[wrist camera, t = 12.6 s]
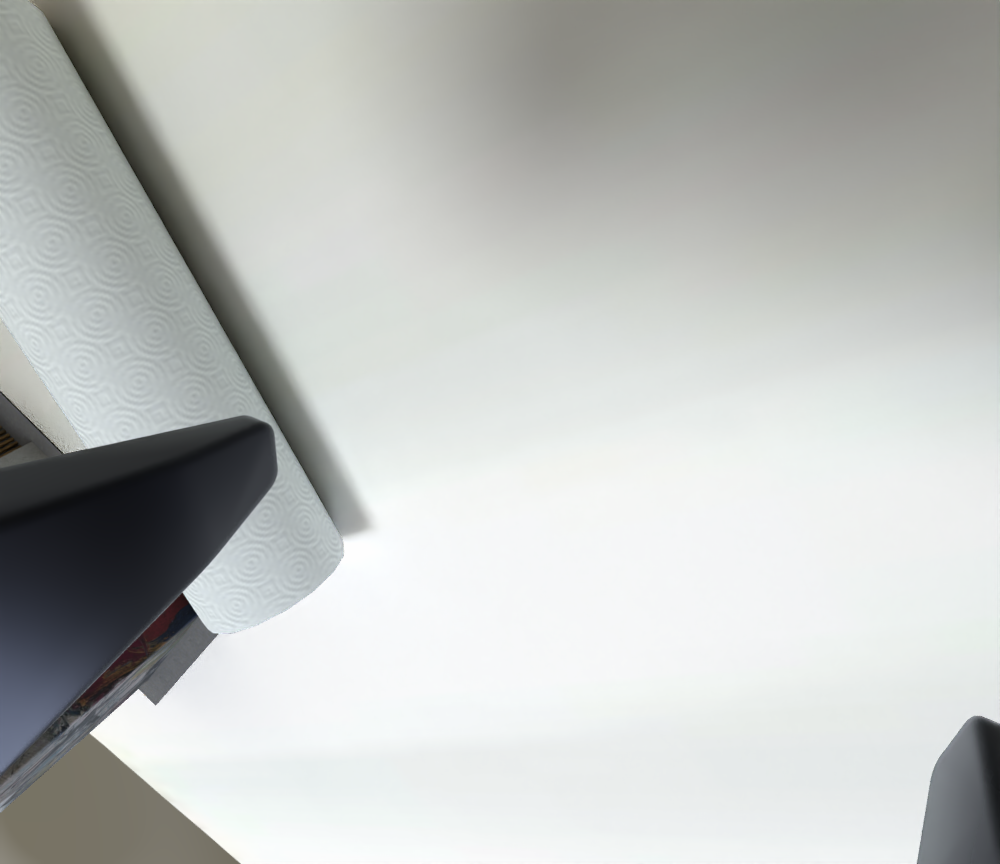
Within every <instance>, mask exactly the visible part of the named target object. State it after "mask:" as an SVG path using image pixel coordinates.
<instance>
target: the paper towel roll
mask: <svg viewBox="0 0 1000 864" xmlns="http://www.w3.org/2000/svg"><path fill="white" fill-rule="evenodd" d="M0 318H1V320H2V321H3V323H4V324H5V326H6V327H7V329H8V330H9V332H10V333H11V335H12V336H13V338H14V339H15V341H16V342H17V344H18V345H19V347H20V348H21V350H22V351H23V353H24V354H25V356H26V357H27V359H28V360H29V362H30V363H31V365H32V366H33V368H34V369H35V371H36V372H37V374H38V375H39V377H40V378H41V380H42V381H43V383H44V384H45V386H46V387H47V389H48V390H49V392H50V393H51V395H52V396H53V398H54V400H55V401H56V403H57V404H58V406H59V407H60V409H61V410H62V412H63V413H64V415H65V416H66V418H67V419H68V421H69V422H70V424H71V425H72V427H73V428H74V430H75V431H76V433H77V434H78V436H79V437H80V439H81V440H82V442H83V443H84V445H85V446H86V448H87V449H90V448H94V447H99V446H103V445H108V444H113V443H117V442H122V441H126V440H131V439H136V438H140V437H145V436H149V435H154V434H159V433H163V432H168V431H172V430H177V429H182V428H186V427H191V426H195V425H200V424H205V423H209V422H214V421H218V420H223V419H227V418H232V417H237V416H242V415H248V416H252V417H254V418H257V419H259V420H261V421H264V422H266V423H268V424H269V425H271V427H272V428H273V430H274V434H275V444H276V454H277V464H278V473H277V478H276V480H275V482H274V484H273V486H272V488H271V489H270V490H269V491H268V493H267V494H266V495H265V496H264V498H263V499H262V500H261V501H260V503H259V504H258V505H257V506H256V508H255V509H254V510H253V511H252V513H251V514H250V515H249V516H248V518H247V519H246V520H245V521H244V523H243V524H242V525H241V526H240V528H239V529H238V530H237V531H236V532H235V534H234V535H233V536H232V537H231V539H230V540H229V541H228V542H227V544H226V545H225V546H224V547H223V549H222V550H221V551H220V552H219V554H218V555H217V556H216V557H215V558H214V559H213V561H212V562H211V563H210V564H209V565H208V566H207V567H206V569H205V570H204V571H203V572H202V573H201V574H200V575H199V576H198V577H197V578H196V579H195V580H194V581H193V582H192V583H191V584H190V585H189V586H188V587H187V588H186V589H185V590H184V591H183V594H184V595H185V597H186V598H187V600H188V601H189V603H190V604H191V606H192V607H193V609H194V610H195V612H196V613H197V615H198V616H199V618H200V619H201V621H202V622H203V624H204V625H205V626H206V627H207V629H208V630H209V631H211V632H212V633H223V634H231V633H234V632H238V631H241V630H244V629H247V628H250V627H254V626H257V625H259V624H261V623H263V622H265V621H267V620H268V619H270V618H272V617H274V616H276V615H278V614H280V613H282V612H284V611H286V610H287V609H289V608H290V607H292V606H293V605H295V604H296V603H297V602H299V601H300V600H302V599H303V598H305V597H306V596H307V595H309V594H310V593H312V592H313V591H314V590H315V589H316V588H317V587H318V586H320V585H321V584H322V583H323V582H324V581H325V580H326V579H327V578H328V577H329V576H330V575H331V574H332V573H333V572H334V571H335V569H336V567H337V566H338V564H339V563H340V561H341V559H342V558H343V556H344V545H343V539H342V537H341V536H340V534H339V532H338V530H337V528H336V527H335V525H334V523H333V521H332V520H331V518H330V516H329V514H328V513H327V511H326V509H325V507H324V506H323V504H322V502H321V500H320V499H319V497H318V495H317V493H316V492H315V490H314V488H313V486H312V485H311V483H310V481H309V479H308V477H307V476H306V474H305V472H304V470H303V469H302V467H301V465H300V463H299V462H298V460H297V458H296V456H295V455H294V453H293V451H292V449H291V448H290V446H289V444H288V442H287V441H286V439H285V437H284V435H283V434H282V432H281V430H280V428H279V426H278V425H277V423H276V421H275V419H274V418H273V416H272V414H271V412H270V411H269V409H268V407H267V405H266V404H265V402H264V400H263V398H262V397H261V395H260V393H259V391H258V390H257V388H256V386H255V384H254V383H253V381H252V379H251V377H250V376H249V374H248V372H247V370H246V368H245V367H244V365H243V363H242V361H241V360H240V358H239V356H238V354H237V353H236V351H235V349H234V347H233V346H232V344H231V342H230V340H229V339H228V337H227V335H226V333H225V332H224V330H223V328H222V326H221V325H220V323H219V321H218V319H217V317H216V316H215V314H214V312H213V310H212V309H211V307H210V305H209V303H208V302H207V300H206V298H205V296H204V295H203V293H202V291H201V289H200V288H199V286H198V284H197V282H196V281H195V279H194V277H193V275H192V274H191V272H190V270H189V268H188V266H187V265H186V263H185V261H184V259H183V258H182V256H181V254H180V252H179V251H178V249H177V247H176V245H175V244H174V242H173V240H172V238H171V237H170V235H169V233H168V231H167V230H166V228H165V226H164V224H163V223H162V221H161V219H160V217H159V215H158V214H157V212H156V210H155V208H154V207H153V205H152V203H151V201H150V200H149V198H148V196H147V194H146V193H145V191H144V189H143V187H142V186H141V184H140V182H139V180H138V179H137V177H136V175H135V173H134V172H133V170H132V168H131V166H130V164H129V163H128V161H127V159H126V157H125V156H124V154H123V152H122V150H121V149H120V147H119V145H118V143H117V142H116V140H115V138H114V136H113V135H112V133H111V131H110V129H109V128H108V126H107V124H106V122H105V121H104V119H103V117H102V115H101V113H100V112H99V110H98V108H97V106H96V105H95V103H94V101H93V99H92V98H91V96H90V94H89V92H88V91H87V89H86V87H85V85H84V84H83V82H82V80H81V78H80V77H79V75H78V73H77V71H76V70H75V68H74V66H73V64H72V62H71V61H70V59H69V57H68V55H67V54H66V52H65V50H64V48H63V47H62V45H61V43H60V41H59V40H58V38H57V36H56V34H55V33H54V31H53V29H52V27H51V26H50V24H49V22H48V20H47V19H46V17H45V15H44V13H43V12H42V11H41V10H39V9H38V8H37V7H36V6H35V5H33V4H32V3H31V2H30V1H28V0H0Z"/></svg>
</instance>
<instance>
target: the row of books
mask: <svg viewBox="0 0 1000 864" xmlns="http://www.w3.org/2000/svg"><path fill="white" fill-rule="evenodd" d="M58 455H62V453H61V452H60V451H59V450H58V449H57V448H56V447H55V446H54V445H53V444H52V443H51V442H50V441H49V440H48V439H46V438H45V437H44V436H43V435H42V434H41V433H40V432H39V431H38V430H37V429H36V428H35V427H34V426H33V425H32V424H31V423H30V422H29V421H28V420H27V419H26V418H25V417H24V416H23V415H22V414H21V413H20V412H19V411H18V410H17V409H16V408H15V407H14V406H13V405H12V404H11V403H10V402H9V401H8V400H7V399H6V398H5V397H4V396H3V395H2V394H1V393H0V468H2V467H7V466H12V465H16V464H21V463H25V462H30V461H35V460H39V459H44V458H48V457H53V456H58ZM218 634H219V633H212V632H211V631H209V630H208V629H207V627H206V626H205V625H204V624H203V622H202V621H201V619H200V618H199V616H198V615H197V613H196V612H195V610H194V609H193V607H192V606H191V604H190V603H189V601H188V600H187V598H186V597H185V595H184V594H183V592H182V593H181V594H180V595H179V596H178V597H177V598H176V599H175V600H174V602H173V603H172V604H171V605H170V606H169V607H168V608H167V609H166V610H165V611H164V612H163V613H162V614H161V615H160V616H159V617H158V618H157V619H156V620H155V621H154V622H153V623H152V624H151V625H150V626H149V627H148V628H147V629H146V630H145V631H144V632H143V633H142V634H141V635H140V636H139V637H138V638H137V639H136V640H135V641H134V642H133V643H132V644H131V645H130V646H129V647H128V648H127V649H126V650H125V651H124V652H123V653H122V654H121V655H120V656H119V657H118V658H117V659H116V660H115V661H114V663H113V664H112V665H111V666H110V667H109V668H108V669H107V670H106V671H105V672H104V673H103V674H102V675H101V676H100V677H99V678H98V679H97V680H96V681H95V682H94V683H93V684H92V685H91V686H90V687H89V688H88V689H87V690H86V691H85V692H84V693H83V694H82V695H81V696H80V697H79V698H78V699H77V700H76V701H75V702H74V703H73V704H72V705H71V706H70V707H69V708H68V709H67V710H66V711H65V712H64V713H63V714H62V715H61V716H60V717H59V718H58V719H57V720H56V721H55V722H54V724H53V725H52V726H51V727H50V728H49V729H48V730H47V731H46V732H45V733H44V734H43V735H42V736H41V737H40V738H39V739H38V740H37V741H36V742H35V743H34V744H33V745H32V746H31V747H30V748H29V749H28V750H27V751H26V752H25V753H24V754H23V755H22V756H21V757H20V758H19V759H18V760H17V761H16V762H15V763H14V764H13V765H12V766H11V767H10V768H9V769H8V770H7V771H6V772H5V773H4V774H3V775H2V776H1V777H0V812H2V811H3V810H4V809H5V808H6V807H7V806H8V805H9V804H11V803H12V802H13V801H14V800H15V799H16V798H17V797H18V796H19V795H21V794H22V793H23V792H24V791H25V790H26V789H27V788H28V787H29V786H31V785H32V784H33V783H34V782H35V781H36V780H37V779H38V778H40V777H41V776H42V775H43V774H44V773H45V772H46V771H47V770H49V769H50V768H51V767H52V766H53V765H54V764H55V763H56V762H57V761H59V760H60V759H61V758H62V757H63V756H64V755H65V754H66V753H67V752H69V751H70V750H71V749H72V748H73V747H74V746H75V745H76V744H77V743H79V742H80V741H81V740H82V739H83V738H84V737H85V736H86V735H88V734H89V733H90V732H91V731H92V730H93V729H94V728H95V727H97V726H98V725H99V724H100V723H101V722H102V721H103V720H104V719H105V718H107V717H108V716H109V715H110V714H111V713H112V712H113V711H114V710H115V709H117V708H118V707H119V706H120V705H121V704H122V703H123V702H124V701H126V700H127V699H128V698H129V697H130V696H131V695H132V694H133V693H134V692H136V691H137V690H138V689H139V690H141V691H142V692H143V693H144V694H145V695H146V696H147V697H148V698H149V699H150V700H151V701H152V702H153V703H154V704H155V705H156V704H157V703H158V702H159V701H160V700H161V699H162V698H163V696H164V695H165V694H166V693H167V692H168V691H169V690H170V688H171V687H172V686H173V685H174V684H175V683H176V682H177V680H178V679H179V678H180V677H181V676H182V675H183V674H184V672H185V671H186V670H187V669H188V668H189V667H190V666H191V664H192V663H193V662H194V661H195V660H196V659H197V658H198V656H199V655H200V654H201V653H202V652H203V651H204V650H205V648H206V647H207V646H208V645H209V644H210V643H211V642H212V640H213V639H214V638H215V637H216V636H217V635H218Z"/></svg>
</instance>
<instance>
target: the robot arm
mask: <svg viewBox="0 0 1000 864" xmlns="http://www.w3.org/2000/svg"><path fill="white" fill-rule="evenodd" d="M277 473H278V464H277V454H276V444H275V434H274V430H273V428H272V427H271V425H269V424H268V423H266V422H264V421H261V420H259V419H257V418H254V417H252V416H248V415H242V416H237V417H232V418H227V419H223V420H218V421H214V422H209V423H205V424H200V425H195V426H191V427H186V428H182V429H177V430H172V431H168V432H163V433H159V434H154V435H149V436H145V437H140V438H136V439H131V440H126V441H122V442H117V443H113V444H108V445H103V446H99V447H94V448H90V449H85V450H80V451H76V452H71V453H67V454H62V455H58V456H53V457H48V458H44V459H39V460H35V461H30V462H25V463H21V464H16V465H12V466H7V467H2V468H0V777H1V776H2V775H3V774H4V773H5V772H6V771H7V770H8V769H9V768H10V767H11V766H12V765H13V764H14V763H15V762H16V761H17V760H18V759H19V758H20V757H21V756H22V755H23V754H24V753H25V752H26V751H27V750H28V749H29V748H30V747H31V746H32V745H33V744H34V743H35V742H36V741H37V740H38V739H39V738H40V737H41V736H42V735H43V734H44V733H45V732H46V731H47V730H48V729H49V728H50V727H51V726H52V725H53V724H54V722H55V721H56V720H57V719H58V718H59V717H60V716H61V715H62V714H63V713H64V712H65V711H66V710H67V709H68V708H69V707H70V706H71V705H72V704H73V703H74V702H75V701H76V700H77V699H78V698H79V697H80V696H81V695H82V694H83V693H84V692H85V691H86V690H87V689H88V688H89V687H90V686H91V685H92V684H93V683H94V682H95V681H96V680H97V679H98V678H99V677H100V676H101V675H102V674H103V673H104V672H105V671H106V670H107V669H108V668H109V667H110V666H111V665H112V664H113V663H114V661H115V660H116V659H117V658H118V657H119V656H120V655H121V654H122V653H123V652H124V651H125V650H126V649H127V648H128V647H129V646H130V645H131V644H132V643H133V642H134V641H135V640H136V639H137V638H138V637H139V636H140V635H141V634H142V633H143V632H144V631H145V630H146V629H147V628H148V627H149V626H150V625H151V624H152V623H153V622H154V621H155V620H156V619H157V618H158V617H159V616H160V615H161V614H162V613H163V612H164V611H165V610H166V609H167V608H168V607H169V606H170V605H171V604H172V603H173V602H174V600H175V599H176V598H177V597H178V596H179V595H180V594H181V593H182V592H183V591H184V590H185V589H186V588H187V587H188V586H189V585H190V584H191V583H192V582H193V581H194V580H195V579H196V578H197V577H198V576H199V575H200V574H201V573H202V572H203V571H204V570H205V569H206V567H207V566H208V565H209V564H210V563H211V562H212V561H213V559H214V558H215V557H216V556H217V555H218V554H219V552H220V551H221V550H222V549H223V547H224V546H225V545H226V544H227V542H228V541H229V540H230V539H231V537H232V536H233V535H234V534H235V532H236V531H237V530H238V529H239V528H240V526H241V525H242V524H243V523H244V521H245V520H246V519H247V518H248V516H249V515H250V514H251V513H252V511H253V510H254V509H255V508H256V506H257V505H258V504H259V503H260V501H261V500H262V499H263V498H264V496H265V495H266V494H267V493H268V491H269V490H270V489H271V488H272V486H273V484H274V482H275V480H276V478H277ZM917 864H1000V724H999V723H997V722H994V721H992V720H990V719H987V718H985V717H982V716H973V717H971V718H970V719H969V720H967V721H966V723H965V724H964V725H963V726H962V728H961V729H960V731H959V732H958V733H957V735H956V736H955V737H954V739H953V740H952V741H951V743H950V744H949V745H948V747H947V748H946V749H945V751H944V752H943V753H942V755H941V756H940V757H939V759H938V761H937V763H936V765H935V767H934V770H933V773H932V777H931V781H930V787H929V793H928V799H927V805H926V812H925V818H924V824H923V830H922V836H921V842H920V848H919V854H918V860H917Z"/></svg>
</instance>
